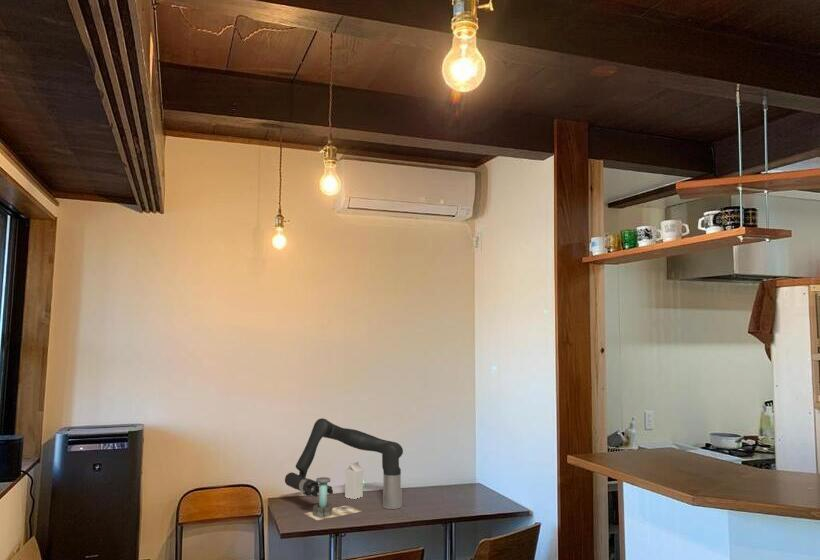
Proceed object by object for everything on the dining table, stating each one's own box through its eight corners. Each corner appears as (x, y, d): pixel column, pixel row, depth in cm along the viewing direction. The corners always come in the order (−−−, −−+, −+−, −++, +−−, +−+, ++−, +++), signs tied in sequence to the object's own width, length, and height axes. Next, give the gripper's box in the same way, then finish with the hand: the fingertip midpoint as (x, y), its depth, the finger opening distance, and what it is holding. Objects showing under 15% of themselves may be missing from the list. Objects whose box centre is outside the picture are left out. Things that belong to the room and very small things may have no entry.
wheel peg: (325, 511, 307) (325, 476, 308) (332, 514, 301) (332, 479, 303) (312, 513, 303) (313, 478, 304) (319, 517, 297) (320, 481, 299)
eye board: (347, 508, 319) (347, 497, 319) (362, 514, 308) (362, 503, 308) (303, 516, 303) (303, 505, 304) (316, 523, 292) (317, 511, 293)
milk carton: (362, 497, 341) (363, 462, 343) (354, 499, 335) (355, 464, 337) (352, 495, 345) (353, 461, 347) (344, 497, 339) (345, 463, 341)
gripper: (296, 481, 311) (312, 487, 298) (321, 477, 319) (337, 483, 306) (296, 496, 310) (311, 503, 297) (320, 492, 319) (336, 498, 306)
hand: (324, 493), depth 302 cm, fingers open, 8 cm apart
